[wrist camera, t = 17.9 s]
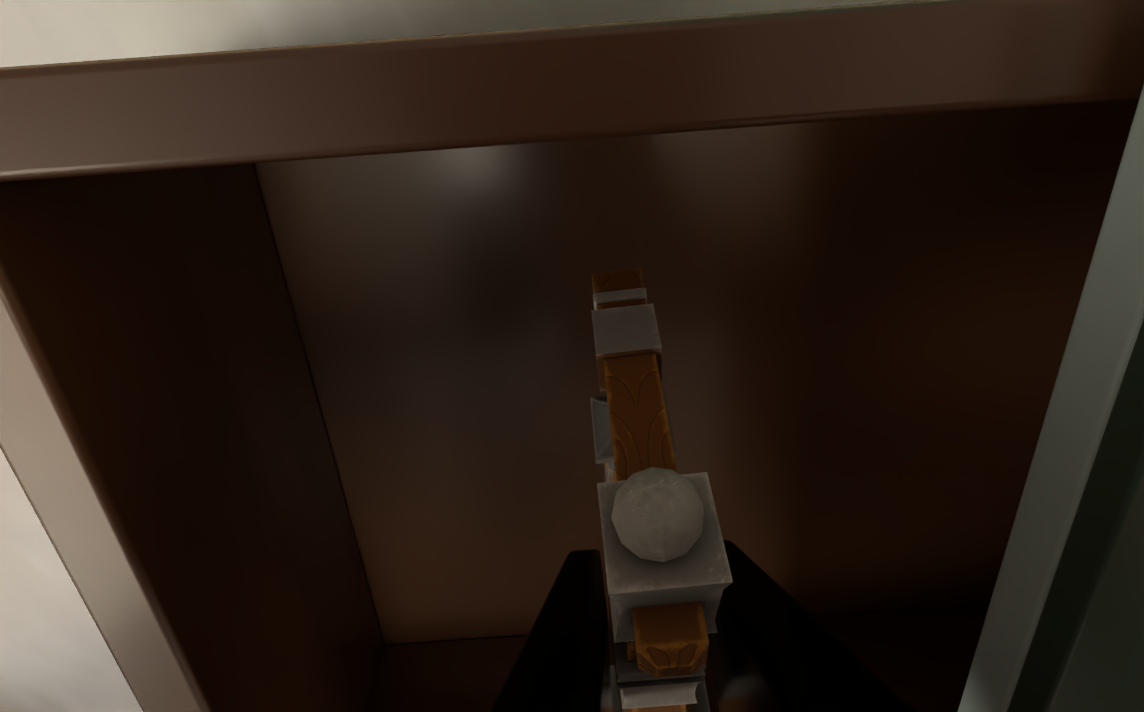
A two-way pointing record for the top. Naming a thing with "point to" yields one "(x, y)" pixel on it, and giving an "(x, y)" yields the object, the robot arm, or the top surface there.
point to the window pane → (1081, 502)
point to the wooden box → (542, 326)
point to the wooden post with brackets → (650, 515)
